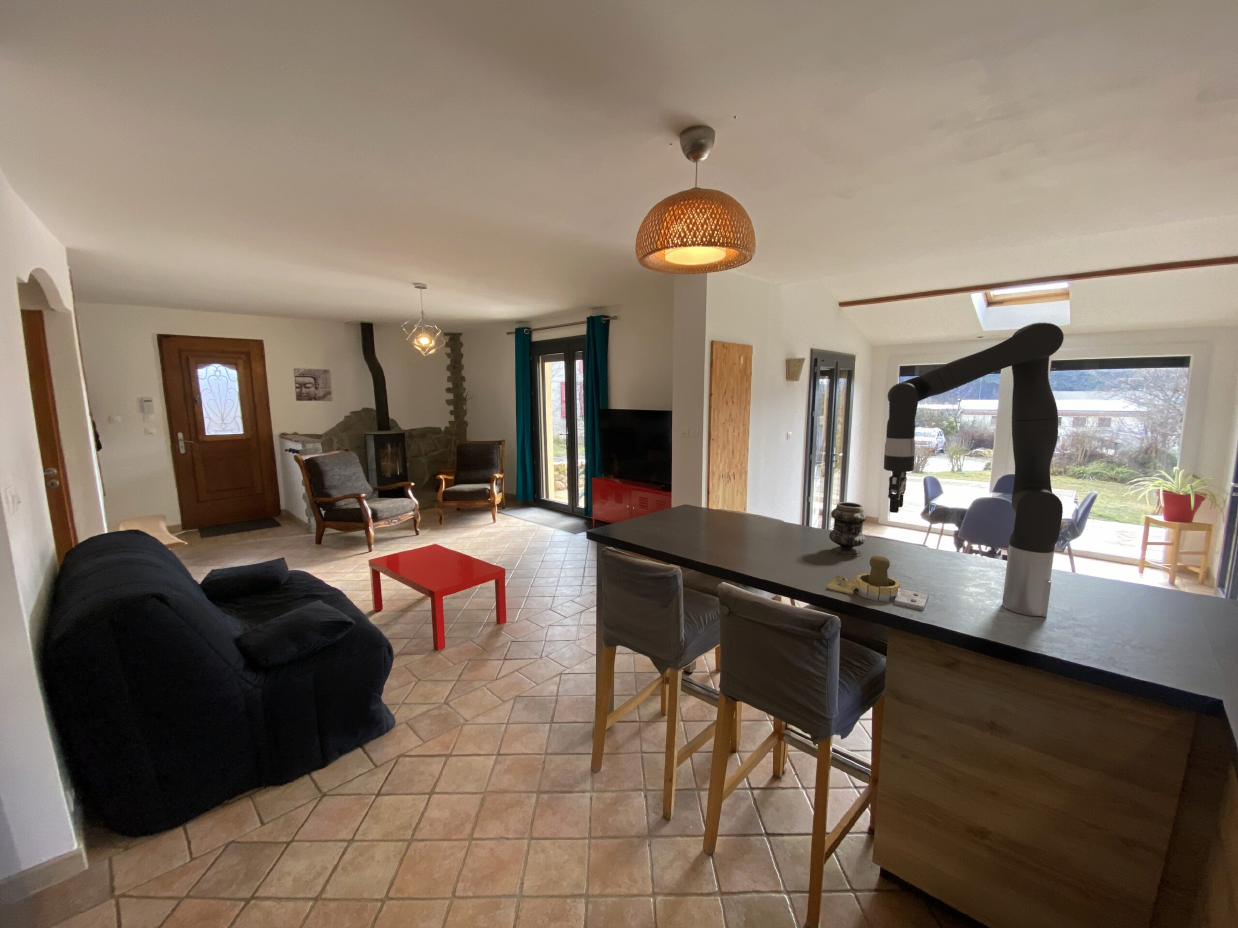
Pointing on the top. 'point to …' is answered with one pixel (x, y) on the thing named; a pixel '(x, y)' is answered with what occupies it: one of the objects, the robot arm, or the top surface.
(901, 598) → the steel hinge leaf
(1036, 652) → the top surface
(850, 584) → the brass hinge leaf
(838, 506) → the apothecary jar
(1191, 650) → the top surface
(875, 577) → the cork
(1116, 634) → the top surface
